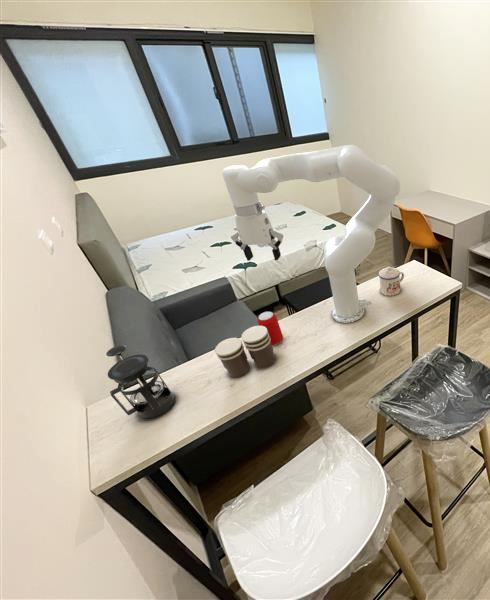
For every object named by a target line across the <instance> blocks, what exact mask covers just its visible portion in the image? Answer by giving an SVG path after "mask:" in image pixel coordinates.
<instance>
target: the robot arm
mask: <svg viewBox="0 0 490 600" xmlns="http://www.w3.org/2000/svg"><path fill="white" fill-rule="evenodd" d="M222 177H223V180H224V183H225V186H226V189H227V192H228V195H229V198H230V200H231V204H232V206H233V210H234V212H235V215H234V220H235V226H236V230H237V231H236V233H234V234H232V235H231V236H230V239H231V240H232V241H233V242H234V243H235V245H236V246H238V247H239V248H240V250H242V251H243V254H244V257H245V258H246V261H251V260H252V259H253V258H254V254H253V250H252V248H251V246H256V245H257V246H258V245H259V246H260V245H261V246H263V245H264V246H266V245H268V246H269V247H270V248H272V250H271V252H272V255H273V259H274V260H275V261H278V260H279V259H280V258H281V256H282V254H281V250H280V245H281V244H282V243H283V240H284V234H283V233H280V232H278V231H275V230H274V228H273V225H272V222H271V220H270V218H269V216H268V215H267V213H266V211H265V209H266V206H265V205H264V204H261V202H260V199H259V195H258V194H268V193H272V192H274V191H275V190H276V189H277V188H278V185H279V183H282V182H283V183H284V182H289V181H295V180H305V181H308V182H310V183H311V182H312V183H320V182H326V181H330V180H335V179H339V178H345V179H346V180H347V181H349V182H350V183H352V184H353V185H355V186H356V187H358V188H360V189H361V190H362V191H364V192H366V193H367V194H369V197H368V199H367V200H366V202H365V203H364V204H363V206H362V207H360V209H359V210H358V211H357V212H356V213H355V214H354V215H353V216H352V218H350V219H349V221H348V222H347V223H346V224H345V227H344V235H345V236H344V238H343V237H339V236H337V237H335V236H334V237H332V238H330V239H329V240H328V241H327V242H326V243H325V245H324V248H323V249H324V250H323V258H324V267H325V270H326V272H327V273H328V278H329V284H330V289H331V294H332V298H333V299H332V300H333V304H334V307H333V310H332V311H331V312H332V318H333V320H335V321H336V322H339V323H343V324H345V323H346V324H349V323H353V322H356V321H358V320H359V319H361V318H362V317H363V316H364V314H365V307H368V306H372V301H371V300H370V299H369V300H367V299H366V298H362V299H359V298H360V297H359V292H358V286H357V278H356V271H355V270H356V269H357V267H359V265H360V264H361V263H362V262H363V261H364V260H366V259H367V257H368V256H369V255H370V254H371V252H372V251H373V250H374V248H375V245H376V241H377V240H376V234H375V233H376V232H377V230H378V229H379V228H380V227H381V226H382V224H383V223H384V222H385V220H387V218H388V217H389V216H390V214H391V212H392V210H393V208H394V206H395V201H396V197H397V196H398V195H399V193H400V191H401V183H400V180H399V178H398V176H397V174H396V173H395V172H394V171H393V170H392V168H390V167H389V166H388V165H384V164H379V163H378V162H375V161H374V160H373V159H372V158H370V157H369V156H367V155H366V154H365V153H364V152H363V150H362V149H361V148H360V147H359V146H357V145H355V144H345V145H344V144H343V145H340V146H334V147H330V148H324V149H319V150H314V151H307V152H301V153H293V154H286V155H279V156H275V157H274V156H273V157H269V158H265V159H262V160H260V161H259V162H257V163H256V165H255V166H253V167H250V168H248V166H246V165H231V166H228V167H225V168H224V169H223V170H222ZM276 239H277V240H276Z"/></svg>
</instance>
